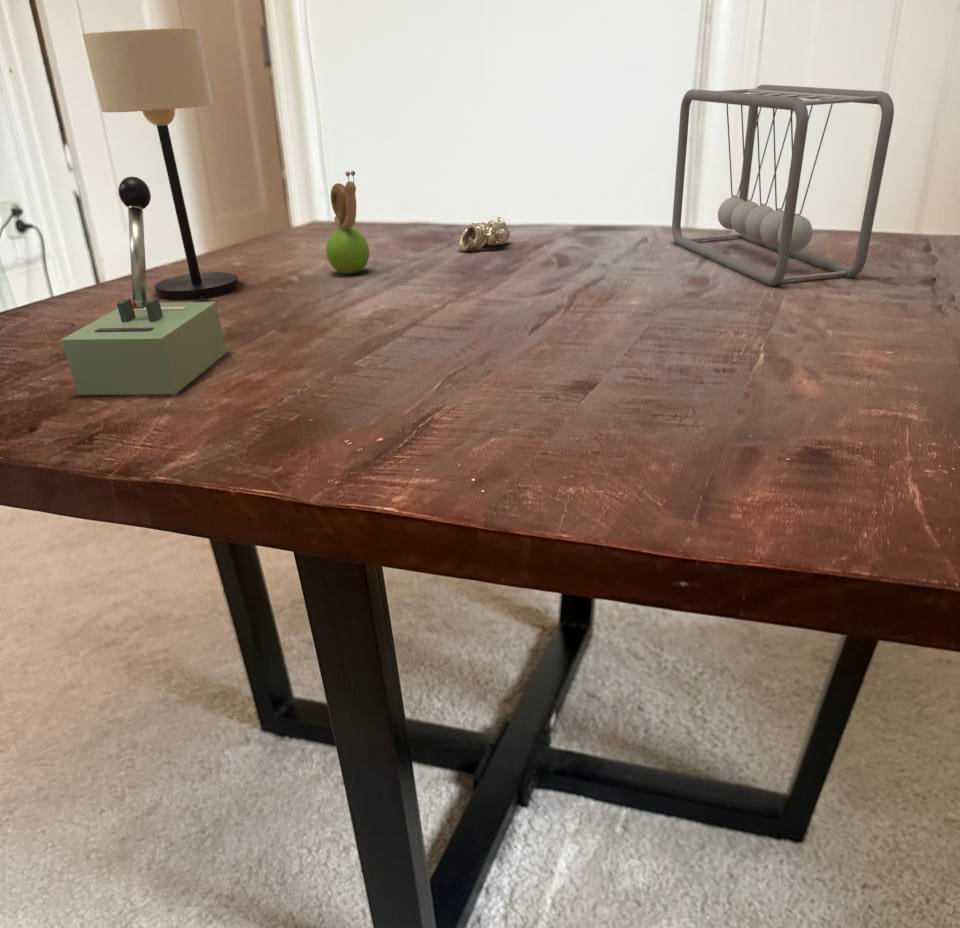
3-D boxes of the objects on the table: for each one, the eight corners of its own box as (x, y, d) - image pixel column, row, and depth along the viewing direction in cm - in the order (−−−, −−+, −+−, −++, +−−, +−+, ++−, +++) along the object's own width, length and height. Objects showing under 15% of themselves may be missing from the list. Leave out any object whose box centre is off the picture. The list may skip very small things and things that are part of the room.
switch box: (176, 397, 74) (156, 318, 71) (78, 397, 76) (54, 319, 72) (227, 355, 84) (212, 283, 80) (140, 356, 85) (121, 285, 82)
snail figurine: (344, 282, 108) (330, 173, 101) (322, 274, 113) (307, 169, 106) (382, 275, 110) (371, 168, 104) (359, 267, 115) (347, 164, 108)
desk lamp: (143, 288, 111) (79, 35, 96) (237, 275, 114) (189, 30, 99) (164, 324, 95) (91, 29, 80) (272, 308, 99) (221, 23, 84)
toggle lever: (146, 305, 75) (140, 171, 73) (118, 305, 76) (111, 172, 74) (161, 311, 78) (155, 182, 76) (134, 312, 78) (127, 183, 76)
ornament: (484, 256, 117) (483, 227, 115) (450, 251, 121) (448, 222, 119) (525, 246, 121) (525, 217, 119) (491, 241, 125) (490, 213, 123)
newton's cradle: (864, 281, 96) (900, 91, 86) (776, 290, 94) (803, 98, 84) (740, 235, 120) (758, 83, 110) (669, 242, 119) (680, 88, 109)
